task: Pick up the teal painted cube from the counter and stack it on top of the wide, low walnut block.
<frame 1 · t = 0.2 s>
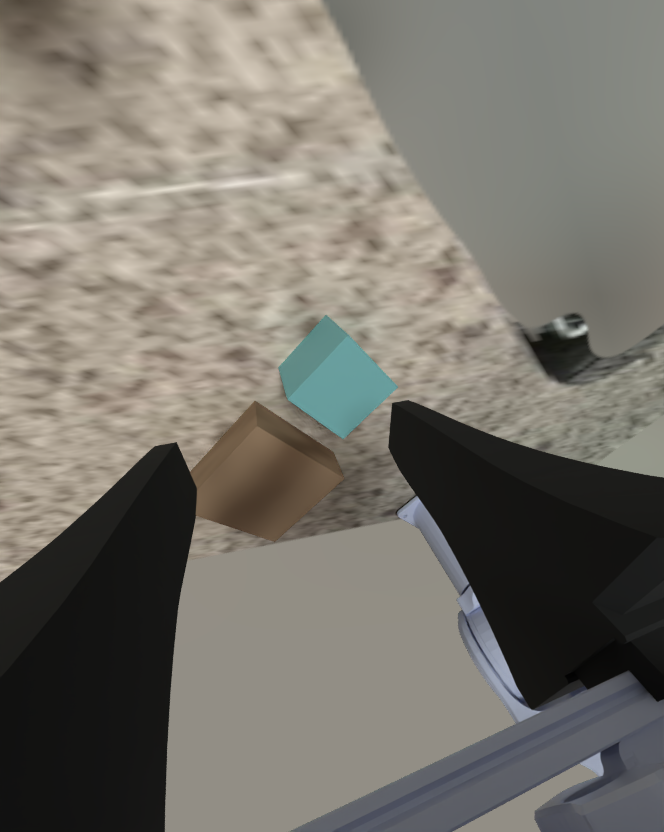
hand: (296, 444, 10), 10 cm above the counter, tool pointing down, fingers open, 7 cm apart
walnut block: (264, 460, 22), on the counter
teal cube: (325, 363, 19), on the counter
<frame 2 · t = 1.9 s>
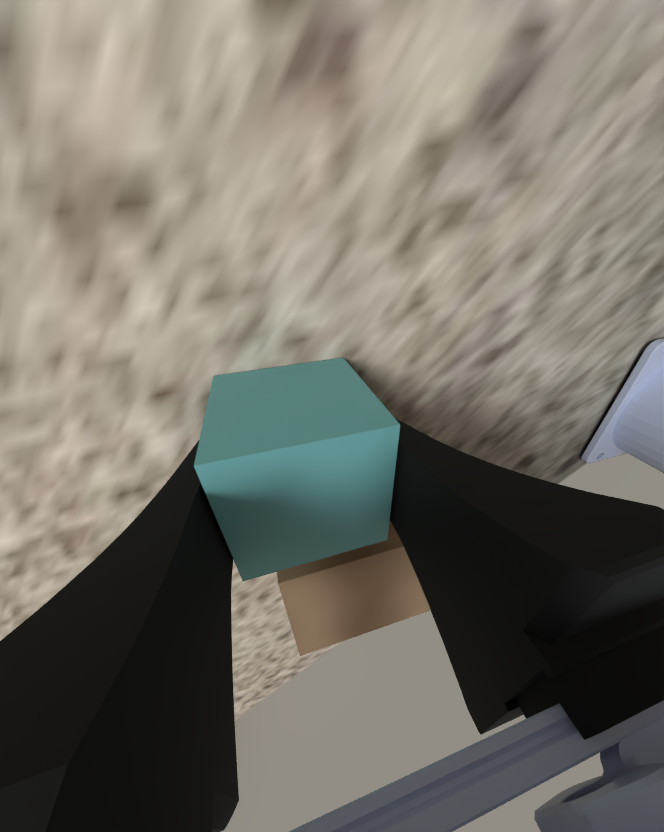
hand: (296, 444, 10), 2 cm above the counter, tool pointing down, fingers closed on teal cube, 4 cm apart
walnut block: (348, 538, 17), on the counter
teal cube: (289, 419, 11), on the counter, touching gripper
when the fingers open (6 cm above the counter, at t = 4.8 s): teal cube drops 1 cm, resting on walnut block.
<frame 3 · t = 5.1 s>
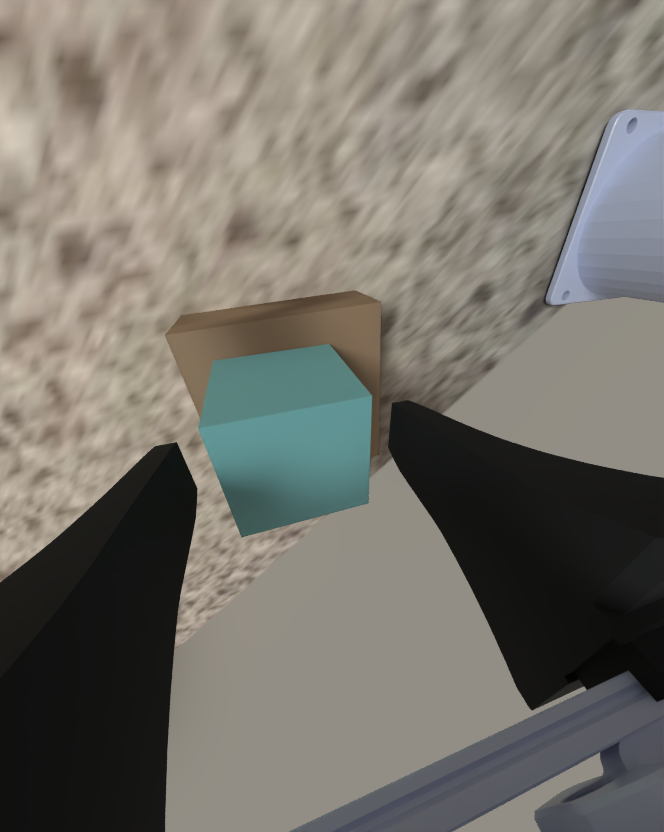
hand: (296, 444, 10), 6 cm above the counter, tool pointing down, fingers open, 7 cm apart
walnut block: (287, 377, 15), on the counter, touching teal cube
teal cube: (282, 401, 12), point 3 cm above the counter, touching walnut block
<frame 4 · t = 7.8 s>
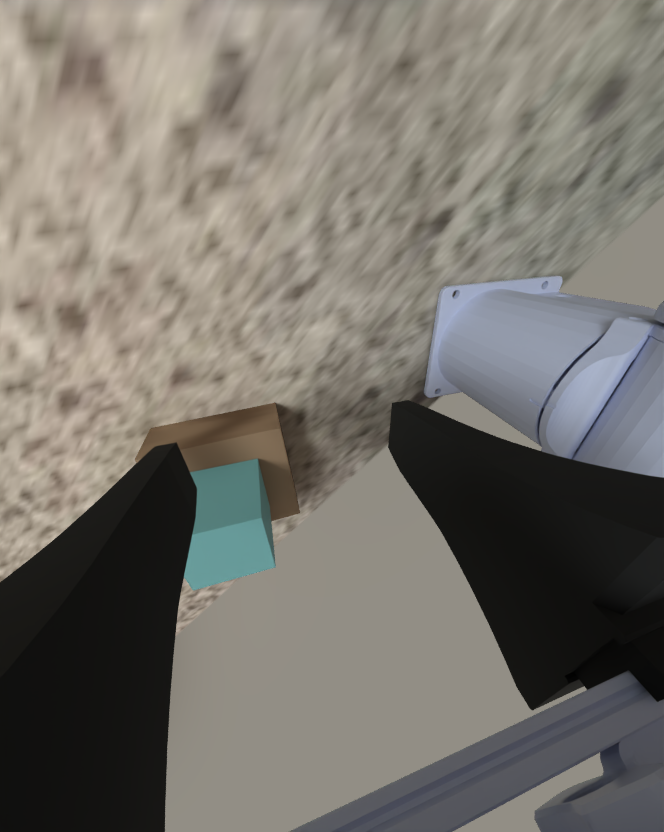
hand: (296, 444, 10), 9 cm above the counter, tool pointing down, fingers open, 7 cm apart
walnut block: (232, 456, 21), on the counter
teal cube: (229, 491, 18), point 3 cm above the counter
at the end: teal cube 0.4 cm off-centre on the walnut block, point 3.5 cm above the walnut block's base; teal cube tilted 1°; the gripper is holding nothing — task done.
